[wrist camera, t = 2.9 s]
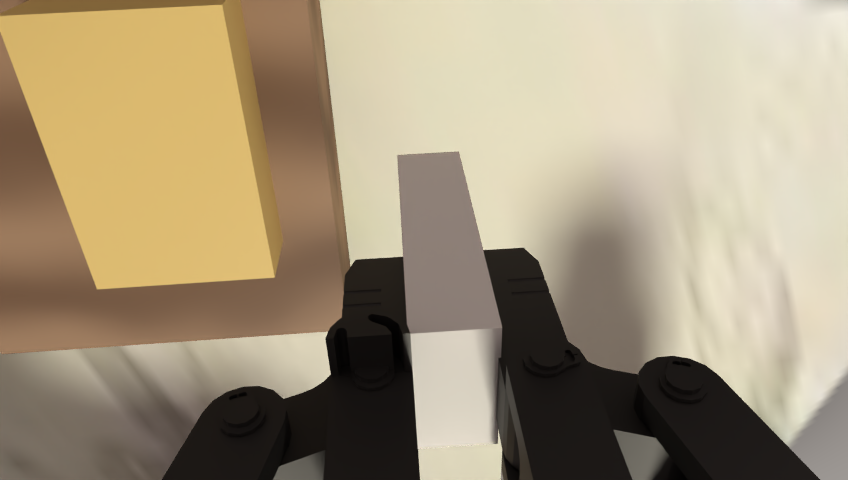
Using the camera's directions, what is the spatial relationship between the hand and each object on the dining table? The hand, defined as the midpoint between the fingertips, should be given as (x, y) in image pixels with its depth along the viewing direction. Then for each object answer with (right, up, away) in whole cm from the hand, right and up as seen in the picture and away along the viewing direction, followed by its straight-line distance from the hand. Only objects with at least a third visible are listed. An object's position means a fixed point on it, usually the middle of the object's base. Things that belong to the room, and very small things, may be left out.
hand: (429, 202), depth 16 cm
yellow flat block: (-9, +3, +5) cm, 10 cm away
